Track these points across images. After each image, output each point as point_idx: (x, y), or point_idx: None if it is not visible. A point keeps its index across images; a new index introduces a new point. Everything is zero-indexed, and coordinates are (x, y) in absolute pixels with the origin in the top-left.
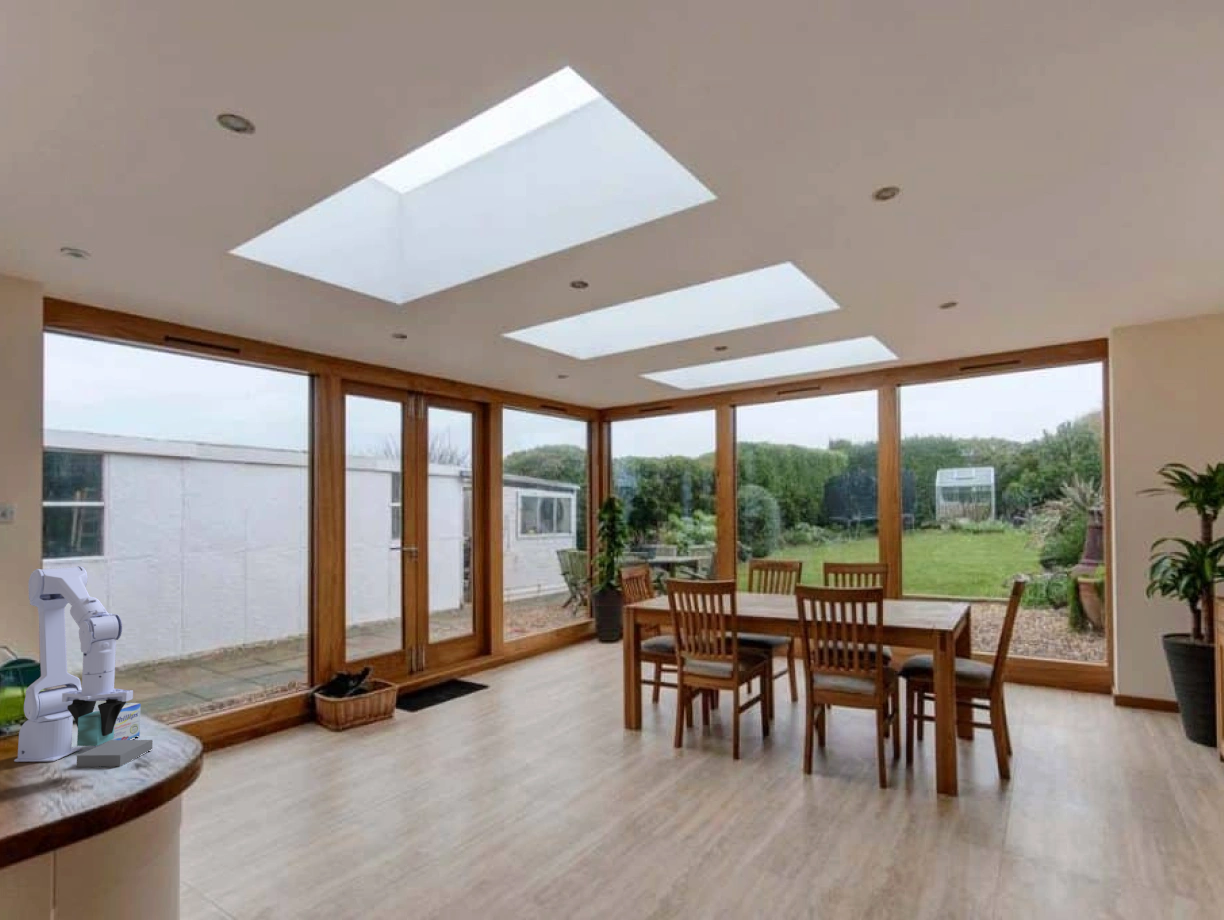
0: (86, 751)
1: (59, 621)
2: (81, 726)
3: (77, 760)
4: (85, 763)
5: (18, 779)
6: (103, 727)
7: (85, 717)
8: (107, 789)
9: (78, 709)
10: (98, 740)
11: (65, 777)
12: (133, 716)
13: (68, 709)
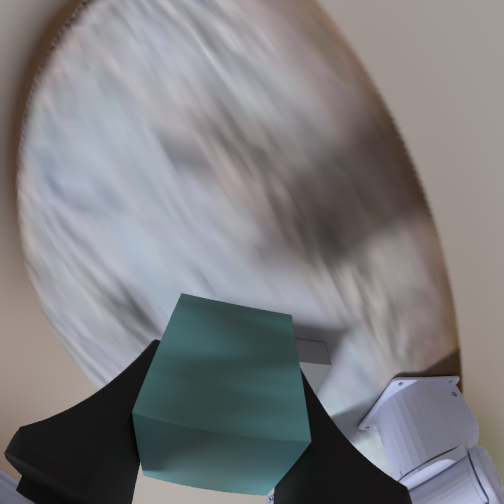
0: (318, 389)
1: None
2: (277, 386)
3: (326, 354)
4: (300, 345)
5: (435, 279)
6: (141, 366)
7: (248, 436)
8: (108, 123)
9: (323, 497)
10: (174, 312)
11: (317, 266)
12: (273, 495)
13: (399, 486)
